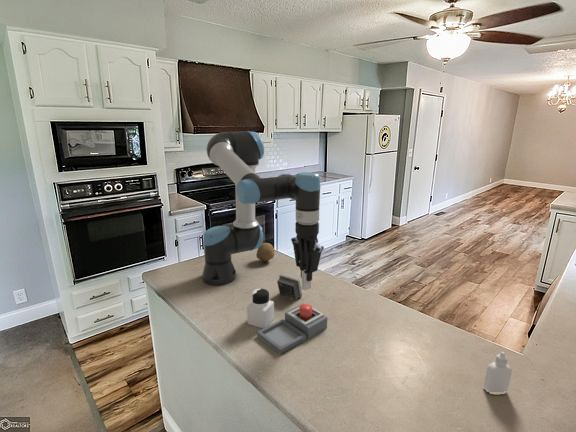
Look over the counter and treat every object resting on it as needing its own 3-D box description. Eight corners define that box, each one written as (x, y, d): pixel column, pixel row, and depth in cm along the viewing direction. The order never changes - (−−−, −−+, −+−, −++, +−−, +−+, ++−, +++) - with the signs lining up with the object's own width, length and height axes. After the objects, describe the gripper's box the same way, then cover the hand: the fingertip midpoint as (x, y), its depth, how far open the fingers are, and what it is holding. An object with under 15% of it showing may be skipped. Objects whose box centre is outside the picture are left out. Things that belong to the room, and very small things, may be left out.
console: (257, 336, 108) (256, 324, 107) (303, 312, 122) (303, 302, 120) (280, 355, 100) (280, 342, 99) (327, 327, 113) (327, 315, 112)
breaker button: (296, 316, 114) (296, 307, 113) (305, 311, 117) (306, 302, 116) (305, 322, 111) (305, 312, 110) (314, 317, 113) (314, 307, 112)
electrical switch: (302, 297, 133) (301, 277, 130) (296, 303, 129) (294, 283, 126) (283, 291, 138) (282, 271, 134) (276, 297, 134) (275, 277, 130)
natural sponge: (278, 261, 166) (278, 243, 163) (265, 267, 160) (264, 248, 158) (267, 256, 173) (267, 238, 170) (254, 261, 167) (253, 243, 164)
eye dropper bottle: (481, 381, 90) (489, 344, 86) (505, 388, 87) (514, 350, 84) (483, 393, 86) (491, 354, 82) (508, 400, 83) (517, 361, 80)
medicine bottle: (274, 318, 118) (274, 288, 115) (265, 329, 112) (264, 298, 109) (257, 313, 121) (256, 284, 118) (247, 324, 115) (246, 293, 112)
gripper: (284, 219, 106) (285, 284, 113) (313, 229, 97) (312, 299, 103) (301, 215, 111) (300, 278, 118) (330, 224, 102) (328, 291, 108)
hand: (306, 288), depth 111 cm, fingers closed
